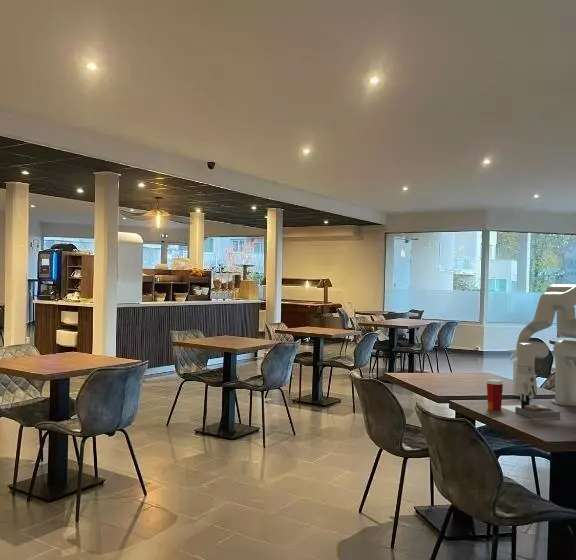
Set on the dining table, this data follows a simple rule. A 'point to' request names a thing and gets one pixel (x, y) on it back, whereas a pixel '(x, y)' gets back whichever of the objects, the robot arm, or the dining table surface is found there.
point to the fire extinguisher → (514, 370)
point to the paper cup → (494, 394)
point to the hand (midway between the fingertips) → (525, 409)
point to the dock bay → (539, 415)
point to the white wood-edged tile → (536, 408)
